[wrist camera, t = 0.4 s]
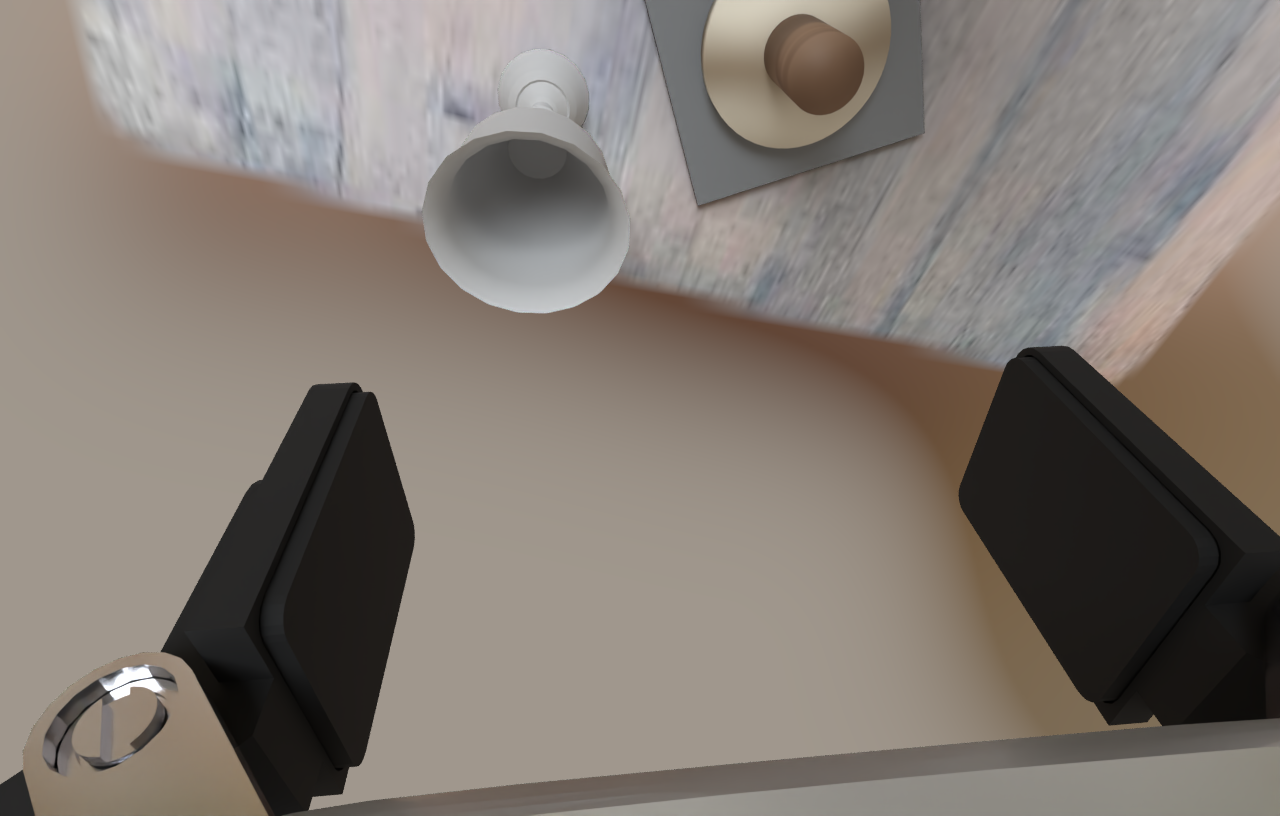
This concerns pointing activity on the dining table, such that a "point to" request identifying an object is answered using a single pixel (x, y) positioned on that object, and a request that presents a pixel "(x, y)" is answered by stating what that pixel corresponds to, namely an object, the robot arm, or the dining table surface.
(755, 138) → the lid
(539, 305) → the chalice
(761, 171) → the mat
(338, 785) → the robot arm
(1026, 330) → the dining table surface
